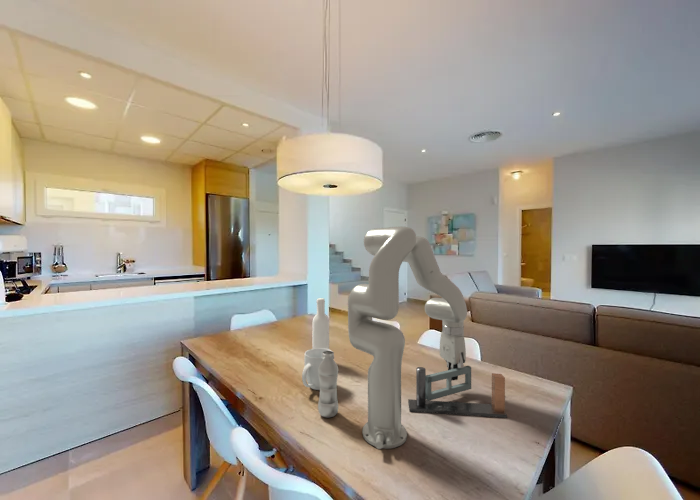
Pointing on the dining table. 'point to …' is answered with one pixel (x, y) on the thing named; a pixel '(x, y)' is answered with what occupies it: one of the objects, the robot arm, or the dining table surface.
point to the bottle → (320, 327)
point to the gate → (448, 382)
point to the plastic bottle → (328, 385)
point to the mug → (312, 367)
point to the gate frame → (458, 407)
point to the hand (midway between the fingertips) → (452, 379)
